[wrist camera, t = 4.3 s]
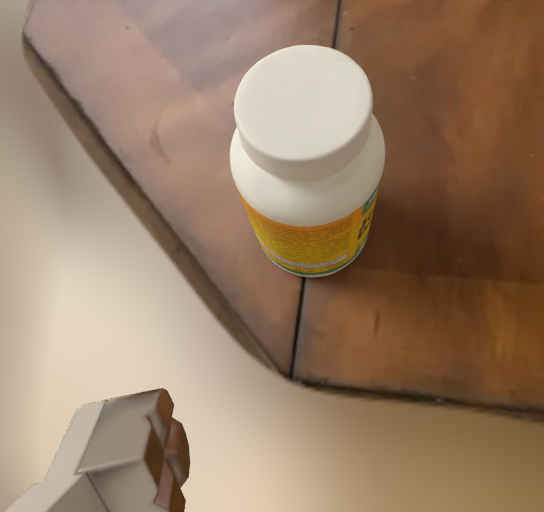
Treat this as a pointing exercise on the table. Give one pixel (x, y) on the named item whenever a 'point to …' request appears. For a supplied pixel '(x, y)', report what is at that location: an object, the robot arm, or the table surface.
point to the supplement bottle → (307, 157)
